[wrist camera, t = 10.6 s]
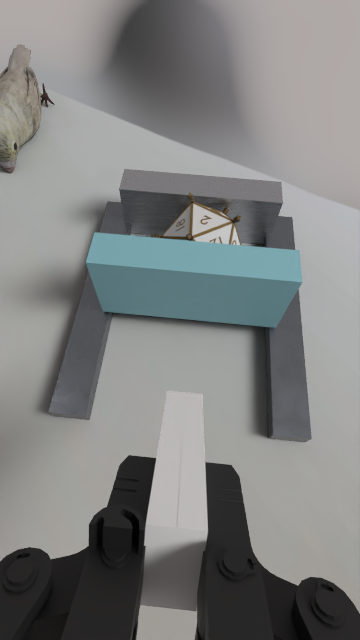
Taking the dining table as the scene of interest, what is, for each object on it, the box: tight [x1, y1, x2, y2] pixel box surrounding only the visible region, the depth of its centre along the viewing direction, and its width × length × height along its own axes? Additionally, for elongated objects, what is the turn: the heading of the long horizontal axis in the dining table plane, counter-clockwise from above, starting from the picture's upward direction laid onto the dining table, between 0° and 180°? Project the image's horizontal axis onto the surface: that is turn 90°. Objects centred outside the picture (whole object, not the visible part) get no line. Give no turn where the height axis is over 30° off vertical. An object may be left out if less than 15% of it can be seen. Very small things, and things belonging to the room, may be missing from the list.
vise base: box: [49, 169, 311, 442], centre depth 32 cm, size 21×24×6 cm
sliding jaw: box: [86, 232, 302, 328], centre depth 29 cm, size 16×3×7 cm, turn 84°
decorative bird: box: [0, 45, 54, 173], centre depth 44 cm, size 5×16×8 cm, turn 178°
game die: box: [152, 192, 241, 245], centre depth 33 cm, size 9×8×10 cm
